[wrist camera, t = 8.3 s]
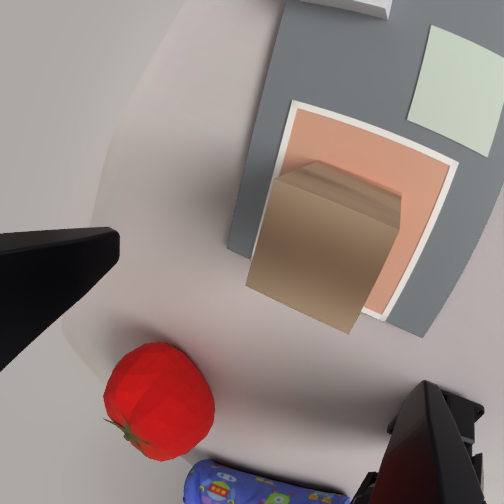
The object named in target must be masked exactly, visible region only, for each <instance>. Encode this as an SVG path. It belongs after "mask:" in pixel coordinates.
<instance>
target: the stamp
mask: <svg viewBox="0 0 504 504" xmlns="http://www.w3.org/2000/svg"><path fill="white" fill-rule="evenodd" d="M401 200H402V193H401V192H399V191H396V190H394V189H392V188H389V187H387V186H385V185H382V184H380V183H378V182H375V181H373V180H370V179H368V178H365V177H363V176H360V175H358V174H355V173H353V172H350V171H348V170H345V169H343V168H340V167H337V166H335V165H332V164H329V163H327V162H324V161H321V160H320V161H317V162H314V163H312V164H309V165H307V166H304V167H302V168H299V169H297V170H294V171H292V172H289V173H287V174H284V175H282V176H280V177H277V178H275V179H274V181H273V184H272V188H271V192H270V196H269V199H268V203H267V207H266V211H265V214H264V218H263V222H262V226H261V229H260V233H259V237H258V241H257V244H256V248H255V252H254V256H253V259H252V263H251V267H250V270H249V274H248V278H247V282H246V285H245V286H248V287H250V288H252V289H254V290H256V291H258V292H260V293H262V294H264V295H266V296H268V297H270V298H272V299H274V300H276V301H278V302H280V303H283V304H285V305H287V306H289V307H291V308H293V309H295V310H297V311H299V312H301V313H304V314H306V315H308V316H310V317H312V318H314V319H316V320H318V321H321V322H323V323H325V324H327V325H329V326H331V327H334V328H336V329H338V330H340V331H342V332H344V333H347V334H349V333H350V331H351V329H352V327H353V325H354V323H355V322H356V320H357V318H358V316H359V314H360V312H361V310H362V308H363V306H364V304H365V302H366V301H367V299H368V297H369V295H370V293H371V291H372V289H373V287H374V285H375V283H376V281H377V278H378V276H379V274H380V272H381V270H382V268H383V266H384V264H385V262H386V260H387V257H388V255H389V253H390V251H391V249H392V246H393V244H394V242H395V240H396V237H397V235H398V233H399V230H400V218H401Z"/></svg>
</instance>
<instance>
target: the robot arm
mask: <svg viewBox="0 0 504 504" xmlns="http://www.w3.org/2000/svg"><path fill="white" fill-rule="evenodd" d="M119 256H120V235H119V233H118V232H117V231H115V230H114V229H112V228H110V227H93V228H75V229H59V230H44V231H43V230H42V231H29V232H14V233H3V234H0V372H1V371H2V370H3V369H4V368H5V367H6V366H7V365H8V364H9V363H10V362H11V361H12V360H13V359H14V358H15V357H16V356H17V355H18V354H19V353H21V351H23V350H24V349H25V348H26V347H27V346H28V345H29V344H30V343H31V342H32V341H33V340H35V339H36V338H37V337H38V336H39V335H40V334H41V333H42V332H43V331H44V330H46V329H47V327H49V326H50V325H51V324H52V323H53V322H55V321H56V320H57V319H58V318H59V317H60V316H61V315H62V314H64V313H65V312H66V311H67V310H68V309H69V308H71V307H72V306H73V305H74V304H75V303H76V302H78V301H79V300H80V299H81V298H82V297H83V296H84V295H85V294H86V293H87V292H88V291H89V290H90V289H91V288H92V287H93V286H94V285H95V284H96V283H97V282H98V281H99V280H100V279H101V278H102V277H103V276H104V275H105V274H106V273H107V272H108V271H109V270H110V269H111V268H112V267H113V266H114V265H115V264H116V263H117V262H118V260H119ZM478 411H479V412H478ZM484 412H485V411H484V407H483V406H481V405H479V404H476V403H473V402H471V401H468V400H466V399H463V398H461V397H458V396H456V395H453V394H451V393H448V392H446V391H443V390H441V389H439V387H438V385H436V384H434V383H432V382H429V381H427V380H423V381H421V382H420V383H419V384H418V386H417V387H416V388H415V389H414V390H413V392H412V393H411V394H410V395H409V396H408V397H407V399H406V400H405V401H404V403H403V405H402V407H401V410H400V413H399V415H398V416H397V417H396V418H395V419H394V421H393V422H392V423H391V424H390V425H389V426H388V427H387V433H389V434H391V438H390V441H389V443H388V446H387V449H386V451H385V454H384V457H383V460H382V463H381V466H380V469H379V472H377V473H376V472H368V474H367V475H366V477H365V479H364V481H363V482H362V484H361V486H360V488H359V489H358V491H357V493H356V494H355V496H354V497H353V499H352V501H351V502H350V504H486V501H485V500H484V495H483V486H484V475H483V456H482V453H479V454H476V455H475V456H472V444H474V442H475V431H474V423H475V422H476V421H477V420H478V419H479V418H480V417H481V416H482V415H483V414H484ZM483 500H484V501H483Z"/></svg>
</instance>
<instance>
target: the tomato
mask: <svg viewBox="0 0 504 504" xmlns="http://www.w3.org/2000/svg"><path fill="white" fill-rule="evenodd" d="M103 398H104V403H105V407H106V411H107V414H108V416H109V417H110V418H111V420H112V421H113V422H111V421H108V420H106V419H105V420H106V421H108V422H110V423H112V424H114V425H116V426H117V427H118V428H120V429H121V430H122V431H123V432H124V433H125V435H124V438H125V439H126V440H127V441H129V440H130V442H131V444H132V445H133V446H134V447H136V448H137V449H138V450H140V451H141V452H142V453H143V454H144V455H145V456H146V457H148V458H150V459H154V460H157V461H166V460H170V459H174V458H176V457H178V456H180V455H184V454H186V453H188V452H189V451H190V450H191V449H192V448H193V447H195V446H196V445H197V444H198V443H199V442H200V441H201V440H203V439H204V438H205V437H206V436H207V434H208V432H209V431H210V429H211V427H212V425H213V422H214V414H215V405H214V398H213V395H212V393H211V390H210V388H209V385H208V384H207V382H206V381H205V379H204V377H203V376H202V374H201V373H200V371H199V369H198V368H197V367H196V366H195V365H194V364H193V362H192V361H191V360H190V359H189V358H188V356H187V355H186V354H185V353H183V352H182V351H180V350H178V349H176V348H174V347H173V346H171V345H169V344H167V343H162V342H157V343H148V344H144V345H142V346H140V347H138V348H137V349H135V350H133V351H131V352H129V353H128V354H126V355H125V356H124V357H123V358H122V359H121V360H120V361H119V362H118V364H117V365H116V366H115V368H114V370H113V371H112V375H111V377H110V378H109V380H108V383H107V386H106V389H105V392H104V395H103Z"/></svg>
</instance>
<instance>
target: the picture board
mask: <svg viewBox="0 0 504 504" xmlns="http://www.w3.org/2000/svg"><path fill="white" fill-rule="evenodd" d="M320 160H321V161H324V162H327V163H329V164H332V165H335V166H337V167H340V168H343V169H345V170H348V171H350V172H353V173H355V174H358V175H360V176H363V177H365V178H368V179H370V180H373V181H375V182H378V183H380V184H382V185H385V186H387V187H389V188H392V189H394V190H396V191H399V192H401V193H402V200H401V218H400V230H399V233H398V235H397V237H396V240H395V242H394V244H393V246H392V249H391V251H390V253H389V255H388V257H387V260H386V262H385V264H384V266H383V268H382V270H381V272H380V274H379V276H378V278H377V281H376V283H375V285H374V287H373V289H372V291H371V293H370V295H369V297H368V299H367V301H366V302H365V304H364V306H363V308H362V310H361V312H363V313H365V314H368V315H370V316H372V317H374V318H376V319H379V320H381V321H383V322H385V321H386V322H388V323H390V324H393V325H395V326H397V327H399V328H401V329H404V330H406V331H408V332H410V333H413V334H415V335H417V336H419V337H421V338H423V337H424V335H425V334H426V332H427V331H428V329H429V328H430V326H431V325H432V323H433V322H434V320H435V318H436V317H437V315H438V314H439V312H440V310H441V309H442V307H443V305H444V304H445V302H446V300H447V299H448V297H449V295H450V294H451V292H452V290H453V288H454V287H455V285H456V283H457V281H458V280H459V278H460V276H461V274H462V272H463V270H464V269H465V267H466V265H467V263H468V261H469V259H470V257H471V255H472V253H473V251H474V249H475V247H476V245H477V243H478V241H479V239H480V237H481V235H482V232H483V230H484V228H485V226H486V224H487V221H488V219H489V217H490V215H491V212H492V210H493V207H494V205H495V203H496V200H497V198H498V195H499V193H500V190H501V188H502V185H503V182H504V0H286V4H285V8H284V12H283V15H282V19H281V23H280V27H279V30H278V34H277V38H276V42H275V46H274V50H273V54H272V57H271V61H270V65H269V69H268V73H267V77H266V81H265V85H264V89H263V93H262V97H261V101H260V105H259V109H258V114H257V118H256V122H255V126H254V130H253V134H252V139H251V143H250V147H249V151H248V156H247V160H246V164H245V168H244V173H243V177H242V181H241V186H240V190H239V195H238V199H237V204H236V208H235V212H234V217H233V222H232V226H231V231H230V235H229V240H228V244H227V249H229V250H231V251H233V252H235V253H238V254H240V255H242V256H244V257H246V258H248V259H251V260H250V261H252V259H253V256H254V252H255V248H256V244H257V241H258V237H259V233H260V229H261V226H262V222H263V218H264V214H265V211H266V207H267V203H268V199H269V196H270V192H271V188H272V184H273V181H274V179H275V178H277V177H280V176H282V175H284V174H287V173H289V172H292V171H294V170H297V169H299V168H302V167H304V166H307V165H309V164H312V163H314V162H317V161H320Z"/></svg>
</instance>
